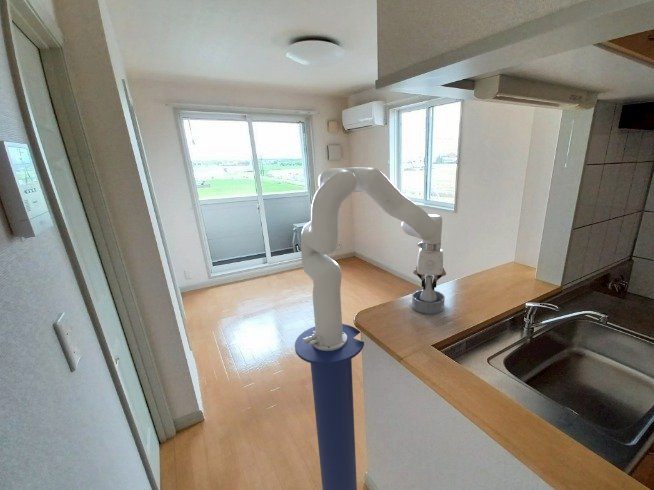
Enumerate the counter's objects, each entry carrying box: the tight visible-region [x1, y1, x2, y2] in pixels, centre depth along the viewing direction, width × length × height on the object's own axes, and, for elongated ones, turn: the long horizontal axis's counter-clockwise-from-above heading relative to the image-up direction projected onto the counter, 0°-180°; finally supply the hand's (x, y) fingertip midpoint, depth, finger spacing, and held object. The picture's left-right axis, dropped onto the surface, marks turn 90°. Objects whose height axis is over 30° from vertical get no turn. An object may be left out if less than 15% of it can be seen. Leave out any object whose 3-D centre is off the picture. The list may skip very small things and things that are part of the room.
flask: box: [420, 275, 437, 302], centre depth 129 cm, size 7×7×10 cm
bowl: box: [411, 289, 446, 315], centre depth 132 cm, size 13×13×5 cm
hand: (428, 288), depth 130 cm, fingers closed on flask, 3 cm apart
